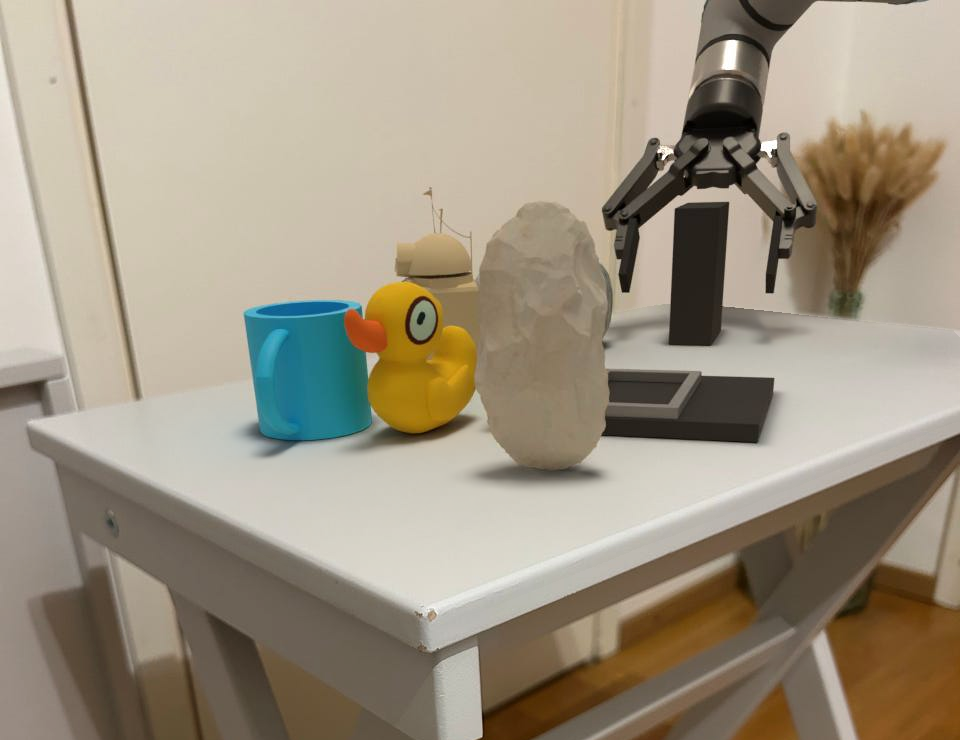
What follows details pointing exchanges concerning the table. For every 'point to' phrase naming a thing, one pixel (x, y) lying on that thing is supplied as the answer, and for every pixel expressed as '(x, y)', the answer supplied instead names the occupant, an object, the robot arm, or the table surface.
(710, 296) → the pad block
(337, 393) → the mug
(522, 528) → the table surface
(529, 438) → the stone
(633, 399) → the base pad
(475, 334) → the robot
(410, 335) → the duckling
